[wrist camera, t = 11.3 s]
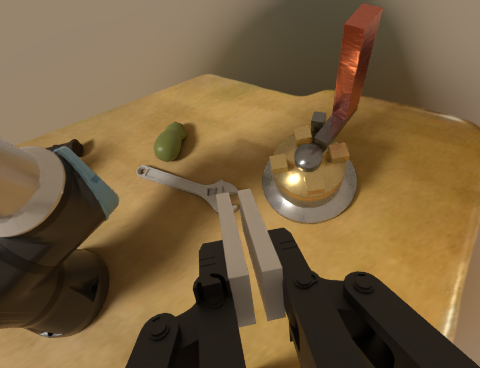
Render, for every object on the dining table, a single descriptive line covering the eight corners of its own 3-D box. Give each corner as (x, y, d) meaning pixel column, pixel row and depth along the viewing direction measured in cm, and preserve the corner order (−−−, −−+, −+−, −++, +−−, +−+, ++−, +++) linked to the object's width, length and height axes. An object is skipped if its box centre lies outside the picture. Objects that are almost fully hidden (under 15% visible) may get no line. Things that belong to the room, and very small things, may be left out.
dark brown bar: (86, 145, 68) (72, 134, 64) (83, 158, 66) (68, 148, 62) (23, 159, 71) (5, 149, 67) (18, 172, 69) (0, 163, 65)
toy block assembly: (317, 221, 46) (328, 141, 25) (262, 185, 51) (233, 95, 30) (375, 141, 50) (425, 17, 29) (318, 116, 55) (327, -5, 34)
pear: (145, 149, 56) (163, 116, 61) (156, 165, 60) (172, 133, 65) (169, 150, 54) (185, 116, 59) (178, 166, 58) (193, 134, 64)
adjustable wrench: (137, 177, 61) (133, 173, 59) (153, 154, 63) (149, 150, 61) (231, 219, 51) (229, 216, 49) (246, 191, 53) (245, 187, 51)
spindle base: (245, 187, 53) (234, 163, 45) (299, 129, 56) (299, 97, 48) (317, 243, 45) (320, 227, 37) (375, 173, 49) (390, 143, 40)
